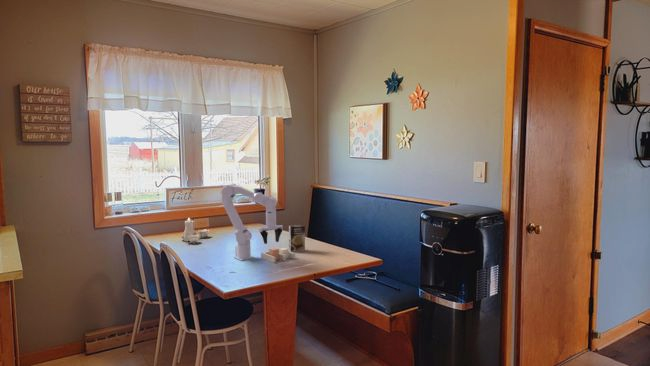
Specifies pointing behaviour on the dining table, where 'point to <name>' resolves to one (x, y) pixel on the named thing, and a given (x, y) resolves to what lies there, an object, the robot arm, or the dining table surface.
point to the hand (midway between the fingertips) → (271, 242)
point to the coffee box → (296, 238)
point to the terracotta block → (274, 253)
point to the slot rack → (281, 257)
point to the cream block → (284, 252)
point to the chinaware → (192, 232)
